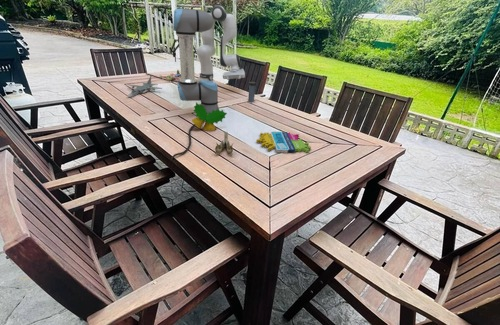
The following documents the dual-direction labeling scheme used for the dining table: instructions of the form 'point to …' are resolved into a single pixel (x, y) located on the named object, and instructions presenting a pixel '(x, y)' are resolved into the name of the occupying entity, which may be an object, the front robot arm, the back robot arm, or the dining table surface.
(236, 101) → the dining table surface
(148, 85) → the airplane
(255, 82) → the lid
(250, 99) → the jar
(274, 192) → the dining table surface
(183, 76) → the front robot arm
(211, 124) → the ornament
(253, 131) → the dining table surface
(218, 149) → the jawbone
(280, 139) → the packaged colorful gloves
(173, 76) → the toy
